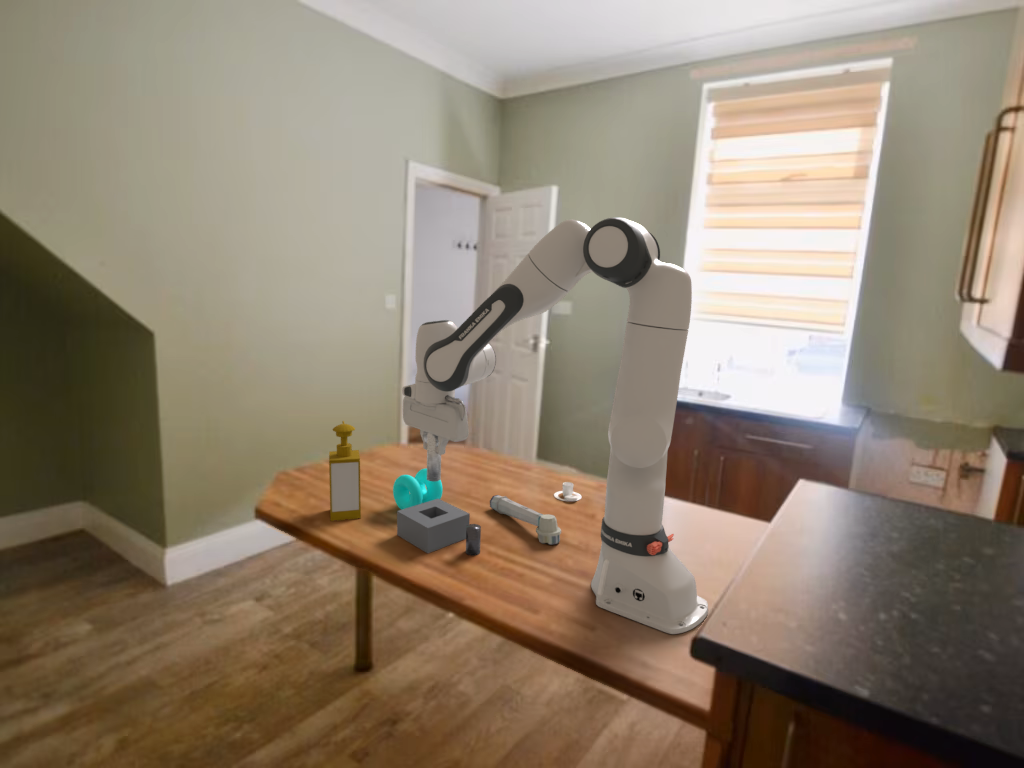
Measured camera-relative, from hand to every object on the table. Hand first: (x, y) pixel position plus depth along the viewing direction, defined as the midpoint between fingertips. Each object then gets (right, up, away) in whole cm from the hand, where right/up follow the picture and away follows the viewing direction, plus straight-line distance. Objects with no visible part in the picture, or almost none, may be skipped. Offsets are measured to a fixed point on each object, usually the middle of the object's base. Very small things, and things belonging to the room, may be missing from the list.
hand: (434, 451), depth 127 cm
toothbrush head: (+21, -20, +12) cm, 31 cm away
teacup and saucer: (+31, -18, +30) cm, 47 cm away
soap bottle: (-25, -17, +17) cm, 35 cm away
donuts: (-7, -18, +20) cm, 27 cm away
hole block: (-1, -20, +4) cm, 21 cm away
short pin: (+9, -22, -3) cm, 24 cm away
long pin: (0, -7, +1) cm, 7 cm away
